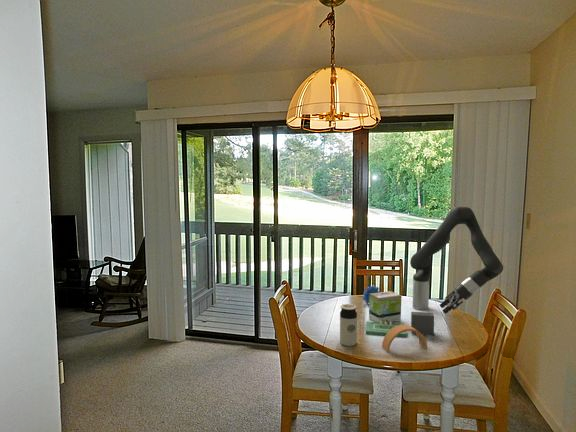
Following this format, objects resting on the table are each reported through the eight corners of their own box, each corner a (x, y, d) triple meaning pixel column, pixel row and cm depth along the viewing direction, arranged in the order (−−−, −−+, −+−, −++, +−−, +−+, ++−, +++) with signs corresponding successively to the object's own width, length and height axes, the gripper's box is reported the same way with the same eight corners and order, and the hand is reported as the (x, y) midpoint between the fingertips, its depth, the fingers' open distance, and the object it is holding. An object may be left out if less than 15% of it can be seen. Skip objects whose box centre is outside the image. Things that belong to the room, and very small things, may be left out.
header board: (366, 324, 207) (366, 316, 207) (404, 326, 203) (404, 318, 202) (365, 333, 193) (365, 325, 193) (406, 337, 189) (407, 328, 189)
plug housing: (410, 330, 198) (411, 311, 197) (432, 331, 195) (432, 312, 194) (411, 334, 193) (412, 314, 192) (433, 335, 190) (434, 316, 190)
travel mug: (339, 339, 187) (339, 303, 185) (355, 339, 186) (355, 303, 185) (340, 346, 179) (341, 308, 177) (357, 346, 178) (358, 309, 177)
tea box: (379, 324, 206) (379, 298, 205) (368, 319, 215) (368, 293, 214) (401, 320, 212) (401, 294, 211) (389, 315, 221) (390, 290, 220)
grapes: (376, 300, 248) (376, 282, 247) (381, 304, 242) (381, 285, 241) (359, 302, 245) (360, 284, 244) (364, 305, 239) (364, 286, 238)
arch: (381, 347, 178) (381, 326, 177) (420, 343, 182) (421, 322, 181) (387, 352, 172) (387, 330, 171) (427, 348, 176) (427, 327, 175)
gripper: (458, 279, 195) (434, 299, 198) (465, 286, 181) (439, 308, 184) (469, 289, 194) (445, 310, 198) (477, 298, 180) (450, 319, 184)
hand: (442, 309), depth 191 cm, fingers open, 8 cm apart
